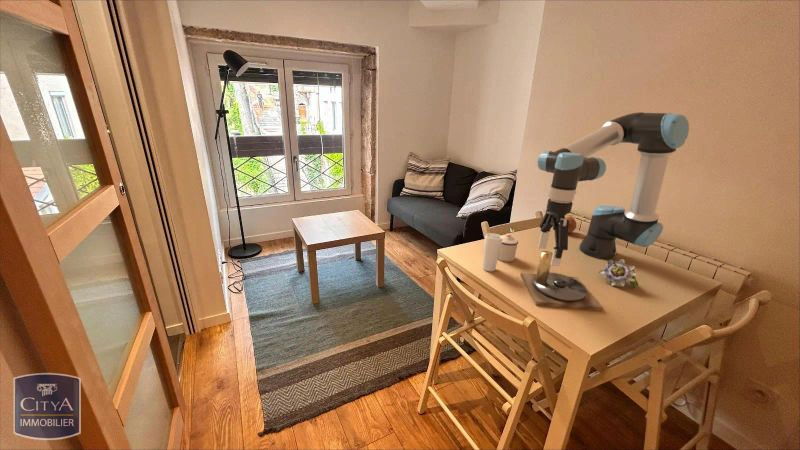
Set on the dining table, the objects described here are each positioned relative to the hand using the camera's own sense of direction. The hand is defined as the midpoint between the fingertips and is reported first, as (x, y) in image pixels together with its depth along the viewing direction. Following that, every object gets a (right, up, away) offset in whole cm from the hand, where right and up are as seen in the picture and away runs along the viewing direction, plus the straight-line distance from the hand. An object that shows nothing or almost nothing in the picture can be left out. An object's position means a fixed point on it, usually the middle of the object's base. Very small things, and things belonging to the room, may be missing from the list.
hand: (548, 256), depth 113 cm
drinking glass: (-16, -7, +19) cm, 26 cm away
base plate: (+6, -14, +4) cm, 16 cm away
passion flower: (+34, -12, +13) cm, 38 cm away
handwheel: (+6, -12, +4) cm, 14 cm away
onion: (+39, +7, +62) cm, 73 cm away
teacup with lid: (-7, -3, +31) cm, 32 cm away
